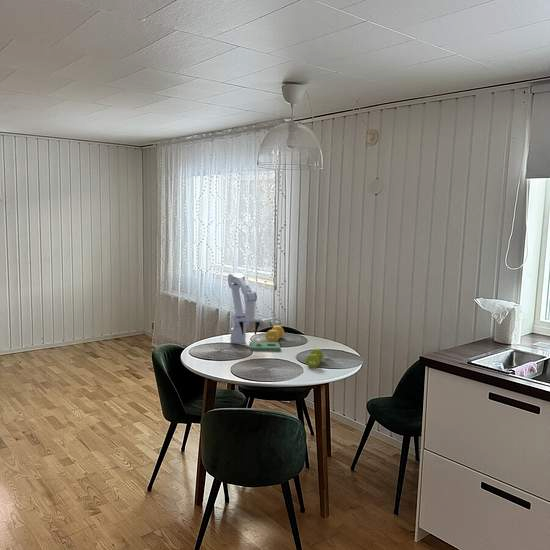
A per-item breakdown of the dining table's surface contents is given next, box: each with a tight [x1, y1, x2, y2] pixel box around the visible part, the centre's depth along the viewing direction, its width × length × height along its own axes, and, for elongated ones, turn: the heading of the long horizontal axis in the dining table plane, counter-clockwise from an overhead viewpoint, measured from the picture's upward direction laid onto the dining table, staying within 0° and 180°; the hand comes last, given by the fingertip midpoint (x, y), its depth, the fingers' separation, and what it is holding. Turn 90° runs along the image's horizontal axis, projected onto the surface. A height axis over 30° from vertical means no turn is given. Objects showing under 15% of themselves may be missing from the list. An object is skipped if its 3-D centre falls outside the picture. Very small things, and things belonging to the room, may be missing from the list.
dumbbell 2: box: [265, 325, 285, 342], centre depth 332 cm, size 19×9×8 cm, turn 166°
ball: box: [255, 338, 262, 345], centre depth 310 cm, size 4×4×4 cm
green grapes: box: [305, 348, 324, 369], centre depth 280 cm, size 16×8×7 cm, turn 165°
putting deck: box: [249, 341, 282, 352], centre depth 311 cm, size 18×14×2 cm
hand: (249, 334), depth 309 cm, fingers open, 7 cm apart
